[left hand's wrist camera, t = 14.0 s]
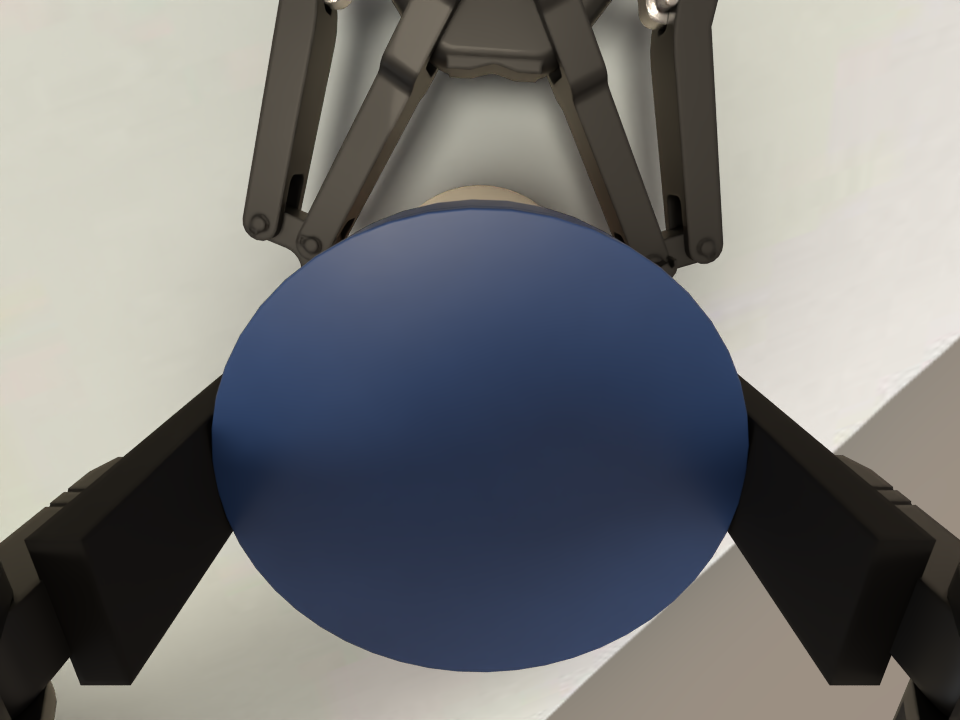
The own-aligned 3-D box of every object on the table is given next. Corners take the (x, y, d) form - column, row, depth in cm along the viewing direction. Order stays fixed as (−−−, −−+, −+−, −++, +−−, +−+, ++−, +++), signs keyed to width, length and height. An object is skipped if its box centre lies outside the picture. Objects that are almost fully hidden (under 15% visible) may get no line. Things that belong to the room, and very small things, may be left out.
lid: (207, 207, 10) (147, 218, 9) (738, 189, 10) (796, 196, 8) (292, 609, 14) (263, 678, 12) (681, 600, 14) (712, 668, 12)
